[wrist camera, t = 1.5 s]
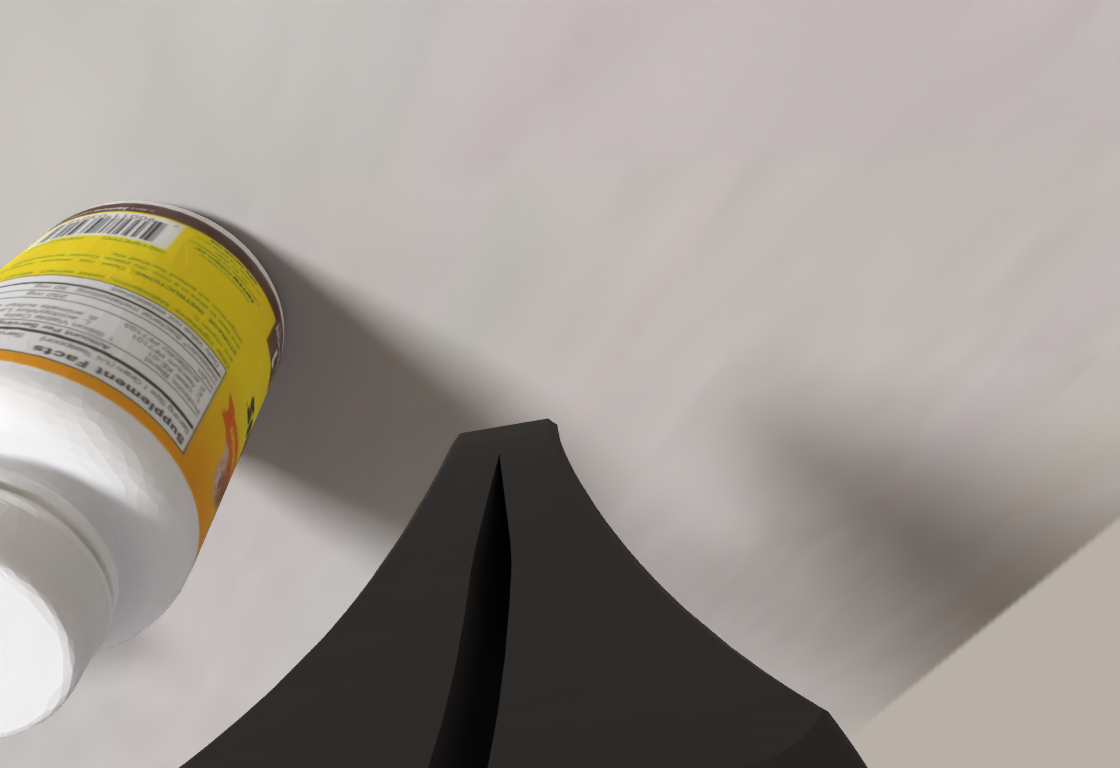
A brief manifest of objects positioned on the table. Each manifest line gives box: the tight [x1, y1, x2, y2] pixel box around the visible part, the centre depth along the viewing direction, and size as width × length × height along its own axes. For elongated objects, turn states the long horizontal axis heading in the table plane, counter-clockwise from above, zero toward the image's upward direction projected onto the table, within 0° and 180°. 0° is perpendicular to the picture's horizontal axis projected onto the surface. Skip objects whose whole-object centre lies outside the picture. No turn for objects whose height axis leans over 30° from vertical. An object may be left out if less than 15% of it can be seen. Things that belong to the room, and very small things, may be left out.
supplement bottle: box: [0, 200, 284, 738], centre depth 16 cm, size 6×6×10 cm
